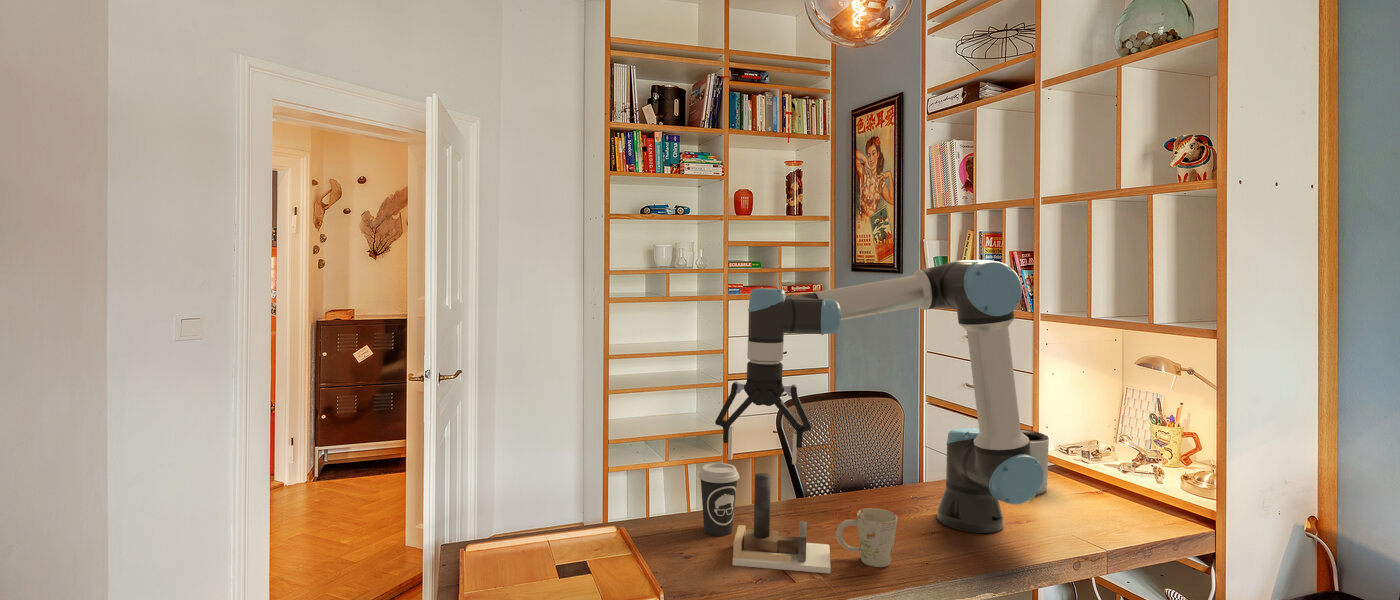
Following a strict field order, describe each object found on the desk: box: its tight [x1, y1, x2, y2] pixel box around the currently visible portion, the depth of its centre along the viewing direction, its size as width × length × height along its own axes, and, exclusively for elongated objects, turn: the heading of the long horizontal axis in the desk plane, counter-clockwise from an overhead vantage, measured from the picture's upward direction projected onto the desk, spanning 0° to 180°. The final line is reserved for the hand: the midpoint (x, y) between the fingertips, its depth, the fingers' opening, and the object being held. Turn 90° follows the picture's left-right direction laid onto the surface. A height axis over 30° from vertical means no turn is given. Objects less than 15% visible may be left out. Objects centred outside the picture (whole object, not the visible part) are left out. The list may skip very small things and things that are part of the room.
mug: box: [835, 507, 898, 568], centre depth 149 cm, size 8×13×10 cm, turn 78°
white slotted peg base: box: [732, 524, 832, 574], centre depth 150 cm, size 20×12×4 cm, turn 81°
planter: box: [1020, 428, 1050, 496], centre depth 199 cm, size 16×16×16 cm
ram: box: [744, 472, 808, 561], centre depth 150 cm, size 13×9×16 cm
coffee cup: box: [698, 462, 740, 537], centre depth 164 cm, size 10×10×15 cm
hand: (761, 460), depth 149 cm, fingers open, 13 cm apart
